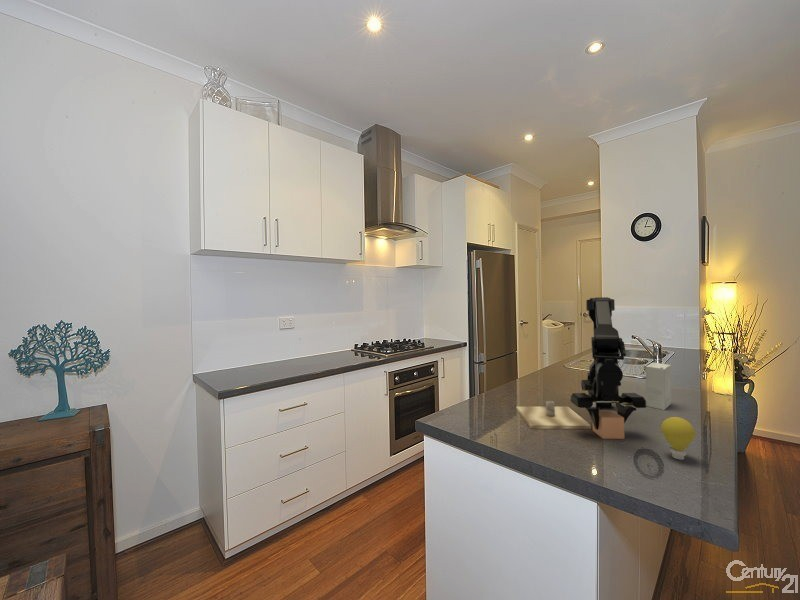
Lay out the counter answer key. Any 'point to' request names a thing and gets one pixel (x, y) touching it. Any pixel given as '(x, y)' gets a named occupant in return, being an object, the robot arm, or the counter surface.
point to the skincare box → (658, 385)
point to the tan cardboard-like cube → (610, 425)
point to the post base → (552, 417)
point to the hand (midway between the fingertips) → (607, 429)
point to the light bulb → (678, 435)
